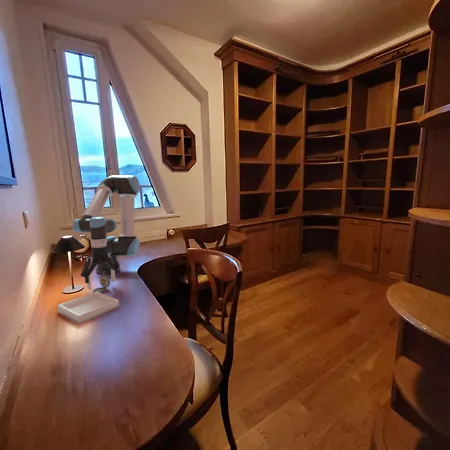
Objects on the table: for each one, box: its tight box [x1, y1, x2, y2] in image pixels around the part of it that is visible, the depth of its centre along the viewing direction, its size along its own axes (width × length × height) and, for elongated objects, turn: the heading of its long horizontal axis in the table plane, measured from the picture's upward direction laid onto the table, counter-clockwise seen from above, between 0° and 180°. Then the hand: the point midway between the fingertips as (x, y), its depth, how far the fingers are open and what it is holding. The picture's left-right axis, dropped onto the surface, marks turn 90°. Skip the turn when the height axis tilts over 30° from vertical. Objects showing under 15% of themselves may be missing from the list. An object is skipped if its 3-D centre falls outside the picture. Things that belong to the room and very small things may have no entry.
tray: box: [57, 292, 120, 325], centre depth 114 cm, size 18×18×4 cm
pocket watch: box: [92, 271, 111, 294], centre depth 136 cm, size 8×8×10 cm
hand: (101, 284), depth 136 cm, fingers open, 13 cm apart
